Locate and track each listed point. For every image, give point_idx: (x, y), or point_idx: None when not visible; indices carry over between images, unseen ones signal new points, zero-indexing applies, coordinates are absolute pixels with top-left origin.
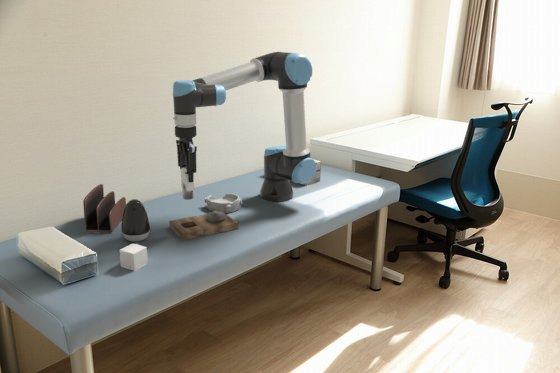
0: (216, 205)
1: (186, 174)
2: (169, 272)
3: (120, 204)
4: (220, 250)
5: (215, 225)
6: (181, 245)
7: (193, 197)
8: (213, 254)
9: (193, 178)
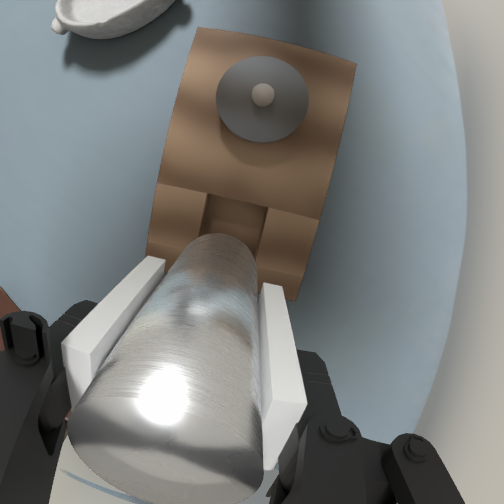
0: (134, 16)
1: (267, 461)
2: (403, 399)
3: (3, 347)
4: (428, 241)
5: (319, 148)
6: (313, 311)
7: (246, 247)
8: (430, 275)
9: (293, 351)
